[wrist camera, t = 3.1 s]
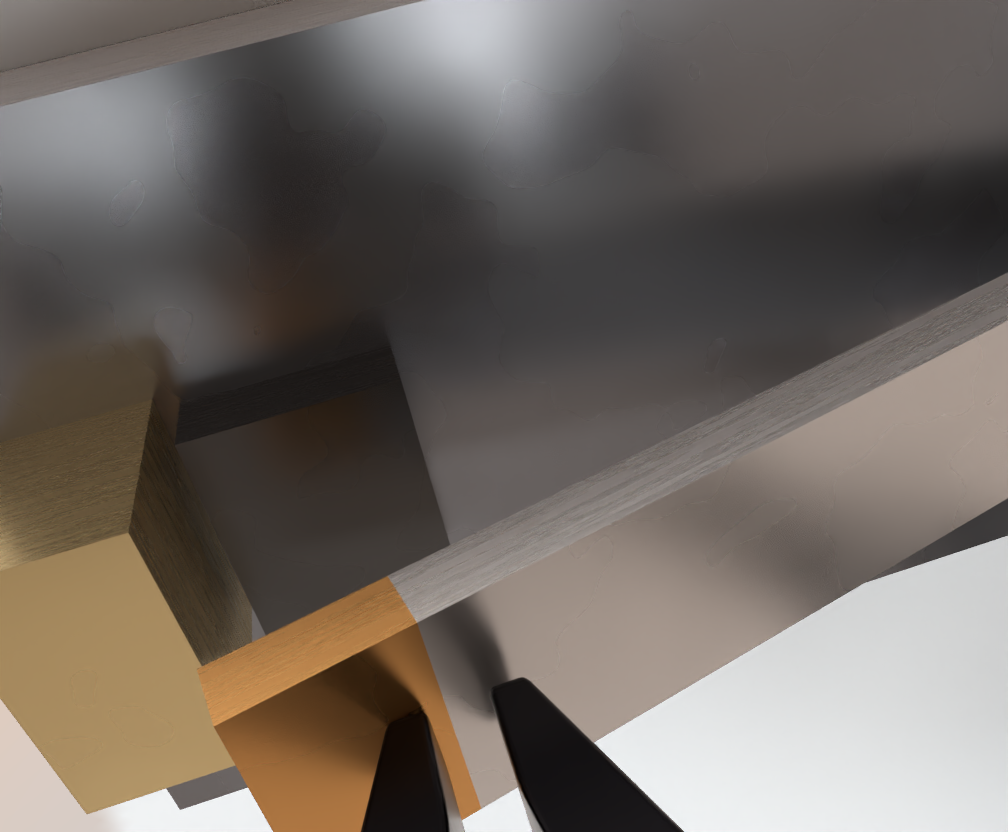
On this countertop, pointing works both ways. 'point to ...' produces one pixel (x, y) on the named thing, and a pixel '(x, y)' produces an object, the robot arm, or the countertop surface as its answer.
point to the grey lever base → (425, 299)
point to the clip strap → (632, 572)
